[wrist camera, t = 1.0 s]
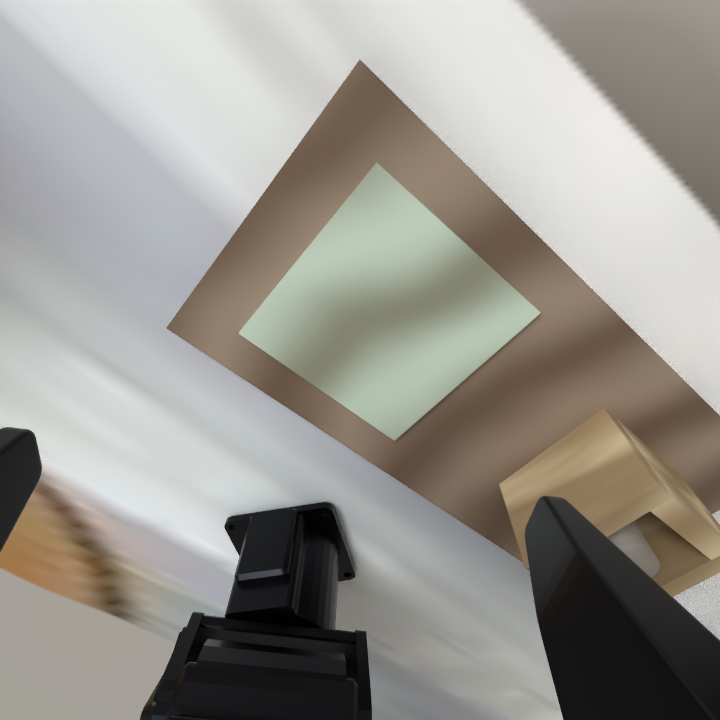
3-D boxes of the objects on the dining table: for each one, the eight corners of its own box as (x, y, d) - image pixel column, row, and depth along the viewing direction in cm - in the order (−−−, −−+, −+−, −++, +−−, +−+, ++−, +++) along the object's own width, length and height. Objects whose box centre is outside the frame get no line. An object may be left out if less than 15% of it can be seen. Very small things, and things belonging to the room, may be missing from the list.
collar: (681, 475, 25) (745, 559, 21) (576, 539, 28) (615, 626, 23) (603, 407, 23) (658, 484, 19) (499, 484, 26) (525, 567, 21)
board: (763, 459, 26) (871, 565, 20) (564, 576, 31) (607, 687, 26) (360, 60, 17) (356, 55, 12) (175, 316, 22) (111, 398, 17)
